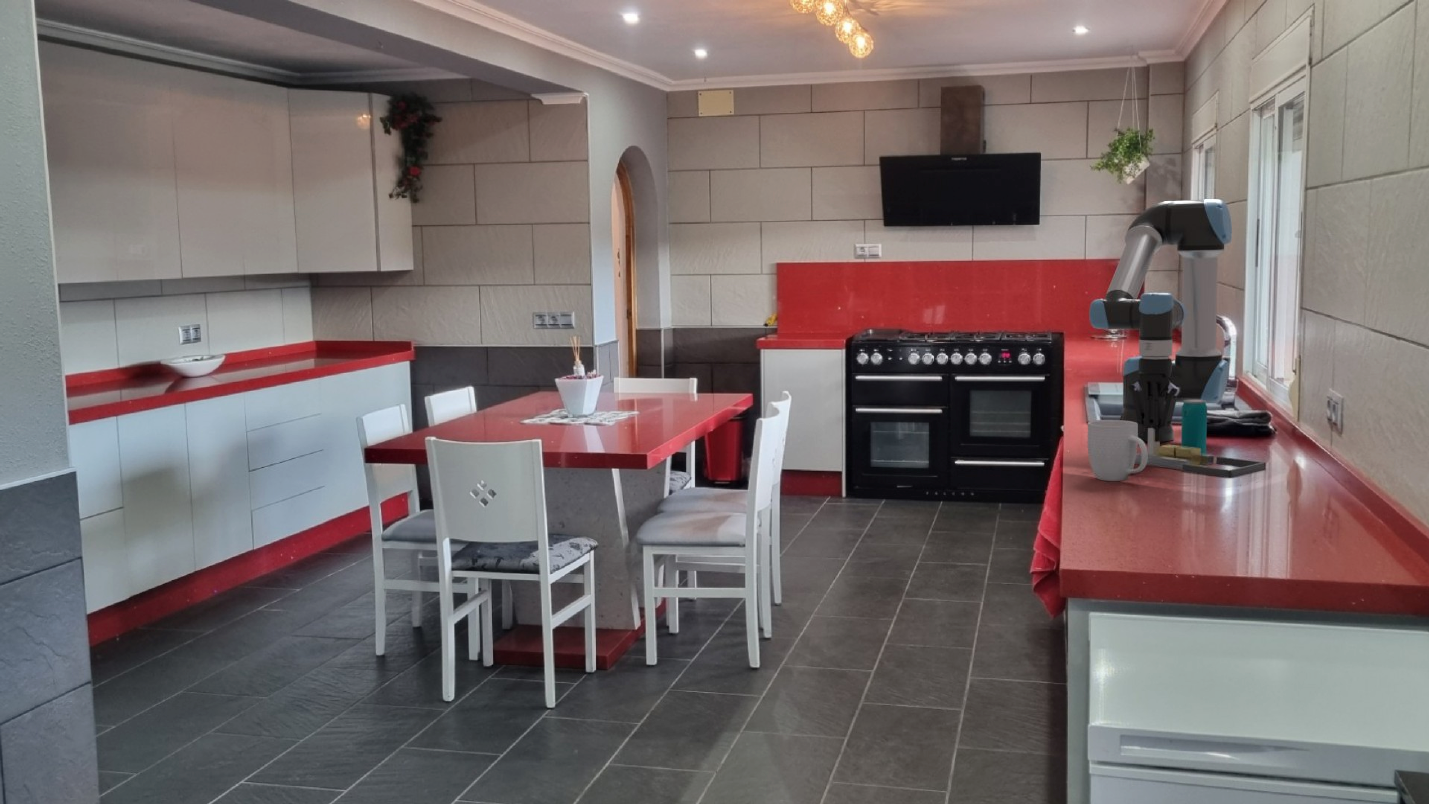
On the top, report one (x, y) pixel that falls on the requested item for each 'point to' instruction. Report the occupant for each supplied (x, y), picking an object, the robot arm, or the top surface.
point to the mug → (1114, 449)
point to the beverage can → (1194, 424)
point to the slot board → (1173, 461)
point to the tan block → (1168, 450)
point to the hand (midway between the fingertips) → (1153, 454)
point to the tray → (1245, 469)
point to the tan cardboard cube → (1189, 454)
